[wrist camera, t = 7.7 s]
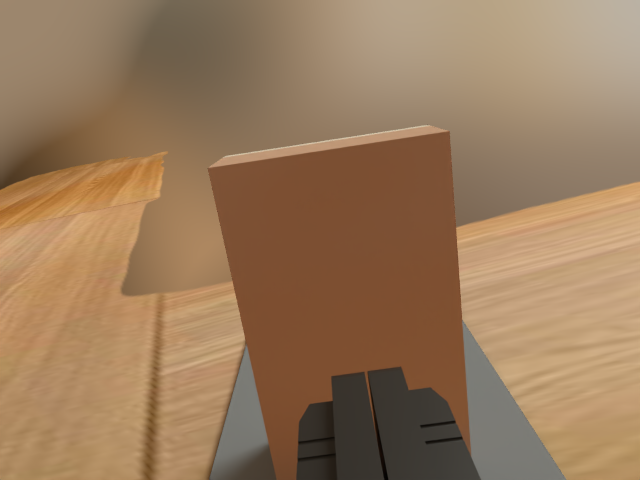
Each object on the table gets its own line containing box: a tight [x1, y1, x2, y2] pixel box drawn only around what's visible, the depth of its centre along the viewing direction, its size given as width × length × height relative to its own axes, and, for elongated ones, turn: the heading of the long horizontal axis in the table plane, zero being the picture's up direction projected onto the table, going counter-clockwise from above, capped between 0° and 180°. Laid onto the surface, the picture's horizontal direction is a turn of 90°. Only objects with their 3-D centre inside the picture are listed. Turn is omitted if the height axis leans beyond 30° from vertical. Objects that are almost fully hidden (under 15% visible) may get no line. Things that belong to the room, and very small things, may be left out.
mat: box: [209, 320, 566, 480], centre depth 31 cm, size 16×23×1 cm
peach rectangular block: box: [208, 125, 471, 480], centre depth 21 cm, size 9×4×15 cm, turn 91°
